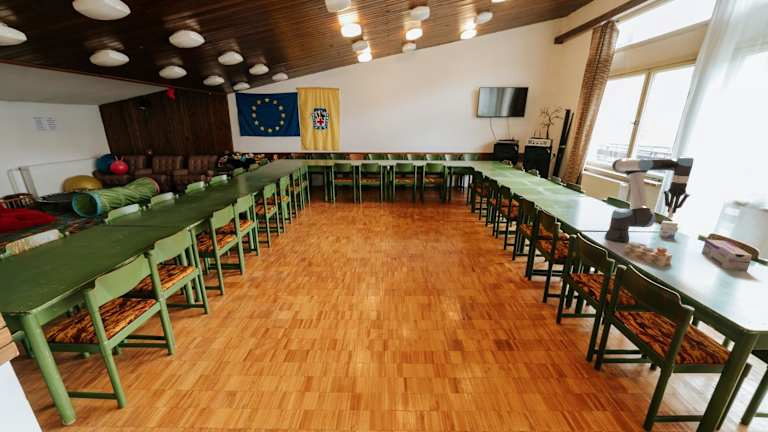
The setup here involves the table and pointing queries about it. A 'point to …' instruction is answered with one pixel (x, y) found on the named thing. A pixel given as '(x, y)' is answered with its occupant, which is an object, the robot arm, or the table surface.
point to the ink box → (668, 229)
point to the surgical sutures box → (726, 255)
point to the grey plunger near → (636, 245)
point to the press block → (647, 255)
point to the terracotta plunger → (661, 251)
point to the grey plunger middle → (648, 248)
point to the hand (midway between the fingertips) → (669, 217)
